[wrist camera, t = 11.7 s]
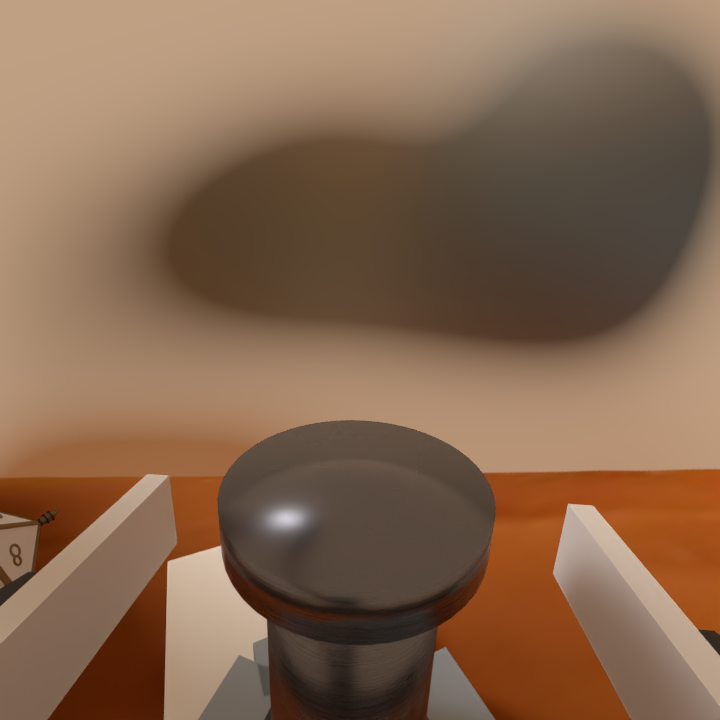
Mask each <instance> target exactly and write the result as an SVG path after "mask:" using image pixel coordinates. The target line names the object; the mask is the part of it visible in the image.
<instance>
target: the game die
mask: <svg viewBox="0 0 720 720" xmlns="http://www.w3.org/2000/svg"><path fill="white" fill-rule="evenodd" d="M58 511H59V510H56V511H50V512H49V511H48V512H47V513H46V514H45V515H44V514H43V515H42V517H41V518H40V519H39V520H34V519H30V518H26V517H22V516H18V515H14V514H10V513H6V512H2V511H0V588H2V587H4V586H5V585H7V584H9V583H10V582H12V581H14V580H15V579H17V578H19V577H21V576H22V575H24V574H26V573H27V572H35V567H36V559H37V552H38V545H39V537H40V530H41V525H43V524H45V523H49V521H51V520H55V519H54V518H55V516H56V514H57V513H58Z"/></svg>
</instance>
